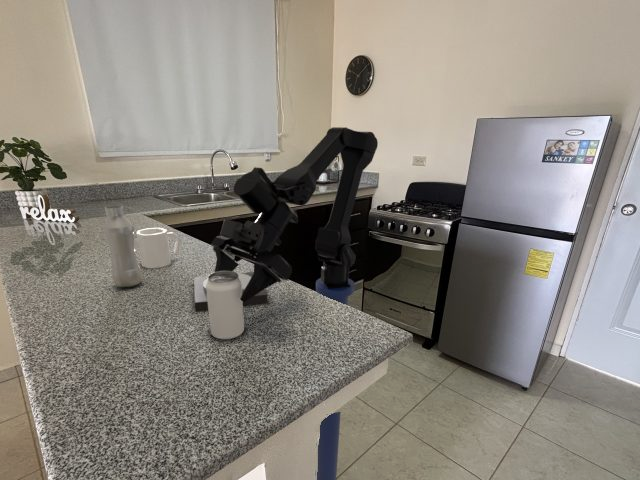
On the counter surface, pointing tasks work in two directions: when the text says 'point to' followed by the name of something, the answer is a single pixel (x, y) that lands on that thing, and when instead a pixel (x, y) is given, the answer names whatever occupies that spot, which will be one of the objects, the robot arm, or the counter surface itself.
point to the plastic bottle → (121, 247)
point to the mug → (156, 247)
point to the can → (225, 305)
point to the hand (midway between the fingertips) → (227, 293)
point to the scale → (259, 298)
